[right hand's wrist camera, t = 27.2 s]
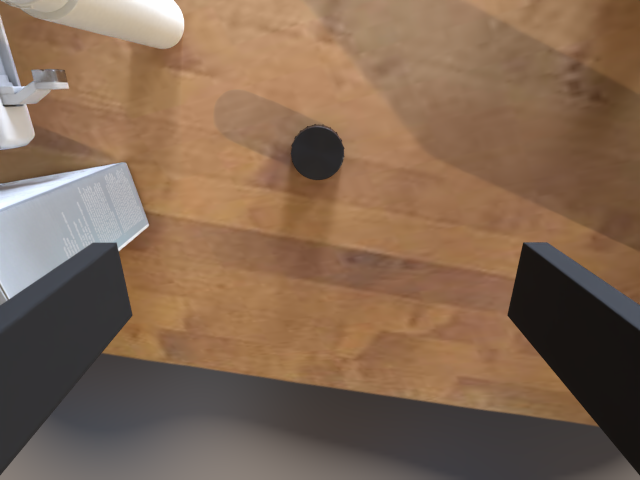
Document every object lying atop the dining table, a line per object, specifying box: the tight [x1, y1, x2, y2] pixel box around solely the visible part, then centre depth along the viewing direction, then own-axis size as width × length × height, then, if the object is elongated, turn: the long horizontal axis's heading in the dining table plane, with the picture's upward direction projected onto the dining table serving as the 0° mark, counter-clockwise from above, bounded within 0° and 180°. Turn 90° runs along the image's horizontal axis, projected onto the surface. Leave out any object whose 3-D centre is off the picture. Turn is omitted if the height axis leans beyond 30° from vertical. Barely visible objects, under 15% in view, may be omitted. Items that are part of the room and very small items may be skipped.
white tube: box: [0, 0, 184, 49], centre depth 26 cm, size 4×4×18 cm
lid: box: [291, 124, 344, 180], centre depth 38 cm, size 5×5×2 cm
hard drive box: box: [0, 162, 149, 305], centre depth 32 cm, size 16×8×20 cm, turn 100°
